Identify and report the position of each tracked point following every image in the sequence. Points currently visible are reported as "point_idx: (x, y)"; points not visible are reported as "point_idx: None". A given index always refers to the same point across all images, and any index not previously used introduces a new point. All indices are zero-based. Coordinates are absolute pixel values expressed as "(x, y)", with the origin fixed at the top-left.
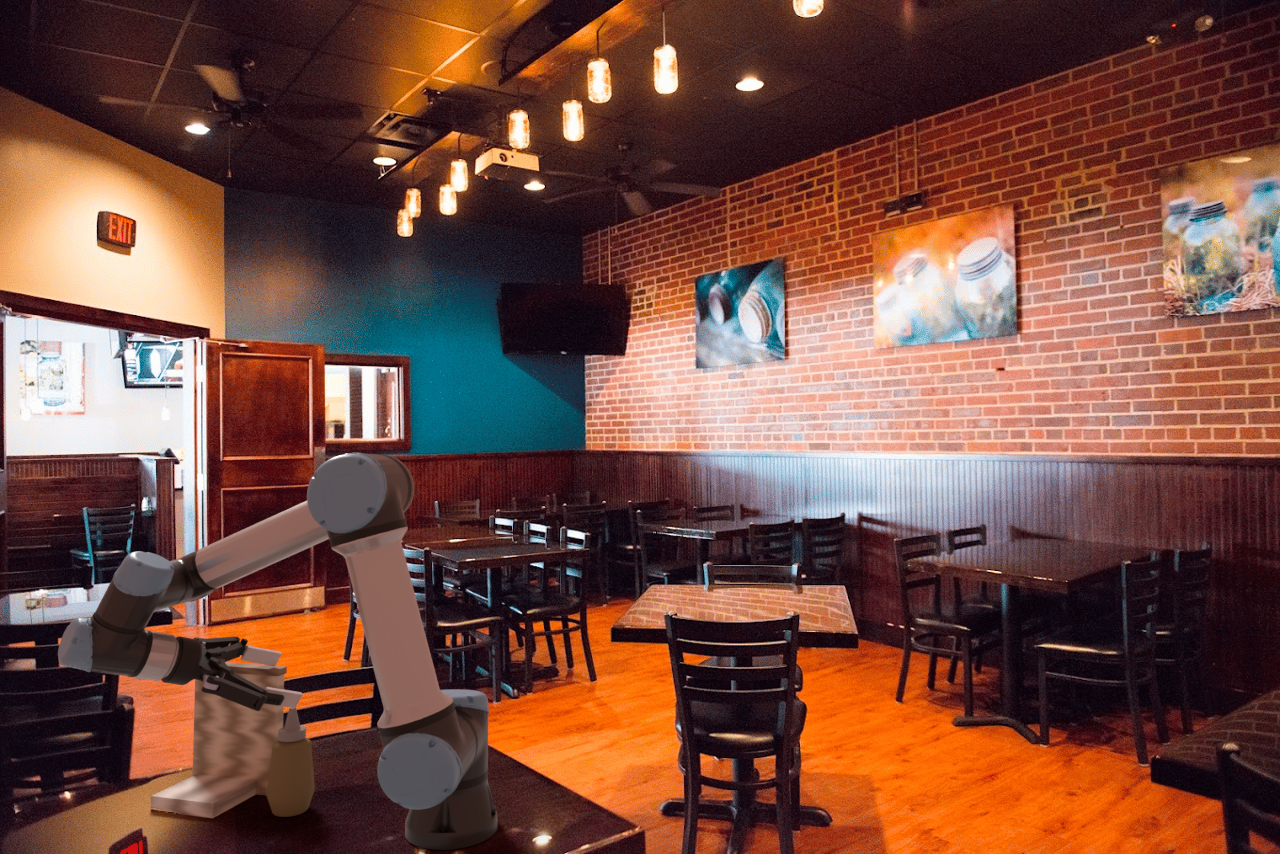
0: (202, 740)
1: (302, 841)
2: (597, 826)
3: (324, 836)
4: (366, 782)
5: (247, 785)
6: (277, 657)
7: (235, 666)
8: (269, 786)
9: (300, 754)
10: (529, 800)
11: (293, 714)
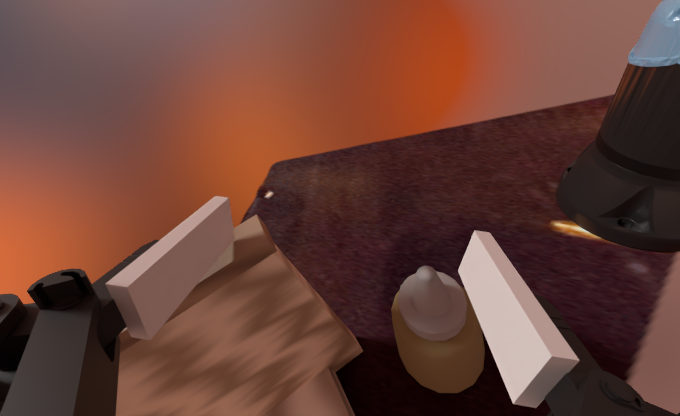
0: None
1: None
2: None
3: (594, 349)
4: (393, 239)
5: (337, 389)
6: (226, 215)
7: None
8: (448, 387)
9: None
10: (548, 131)
11: (440, 282)
